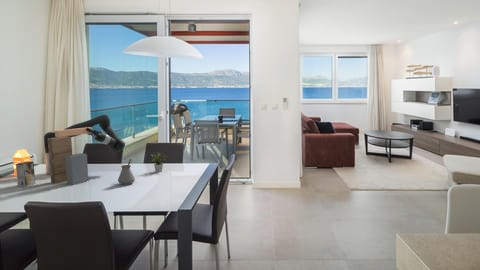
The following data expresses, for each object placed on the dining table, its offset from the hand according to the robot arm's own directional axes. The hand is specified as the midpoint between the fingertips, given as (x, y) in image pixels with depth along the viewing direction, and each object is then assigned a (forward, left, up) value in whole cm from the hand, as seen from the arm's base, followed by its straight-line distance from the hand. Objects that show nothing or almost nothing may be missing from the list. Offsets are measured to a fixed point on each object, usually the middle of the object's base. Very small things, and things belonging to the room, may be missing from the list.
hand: (84, 128), depth 249 cm
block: (0, -8, -3) cm, 9 cm away
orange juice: (-62, -14, -38) cm, 74 cm away
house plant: (+26, +45, -38) cm, 65 cm away
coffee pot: (+30, +11, -38) cm, 50 cm away
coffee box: (-26, -30, -38) cm, 55 cm away
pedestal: (0, -8, -38) cm, 39 cm away
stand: (-14, -11, -38) cm, 42 cm away
